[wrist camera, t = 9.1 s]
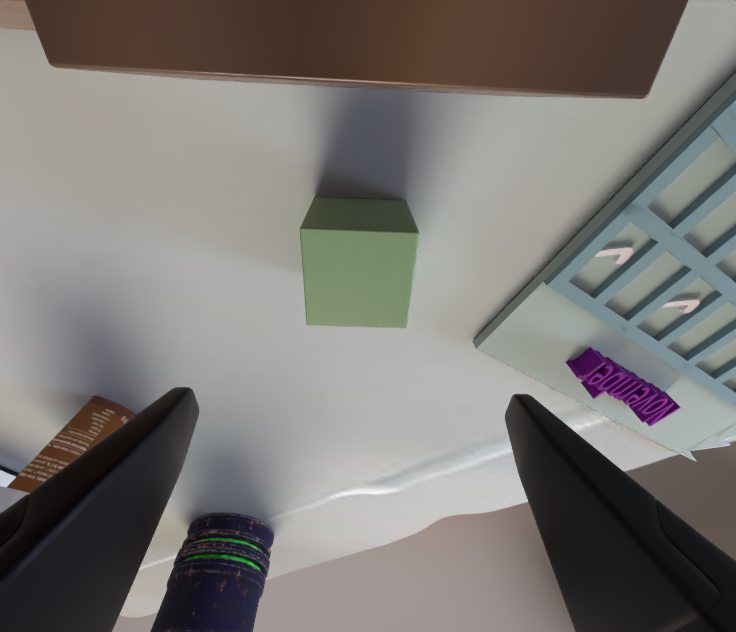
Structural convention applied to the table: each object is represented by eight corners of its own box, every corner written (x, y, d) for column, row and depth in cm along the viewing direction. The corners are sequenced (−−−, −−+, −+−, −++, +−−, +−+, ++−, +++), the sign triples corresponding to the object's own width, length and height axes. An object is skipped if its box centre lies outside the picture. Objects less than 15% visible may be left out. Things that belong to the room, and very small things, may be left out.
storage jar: (267, 556, 43) (228, 747, 30) (186, 546, 41) (109, 745, 28) (282, 520, 37) (241, 732, 25) (190, 506, 36) (97, 728, 23)
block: (406, 200, 18) (419, 232, 14) (398, 281, 21) (406, 328, 17) (314, 196, 18) (299, 227, 14) (317, 279, 21) (306, 326, 17)
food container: (159, 483, 33) (91, 614, 25) (90, 468, 31) (-7, 603, 23) (179, 406, 27) (97, 547, 19) (94, 383, 25) (-36, 525, 17)
